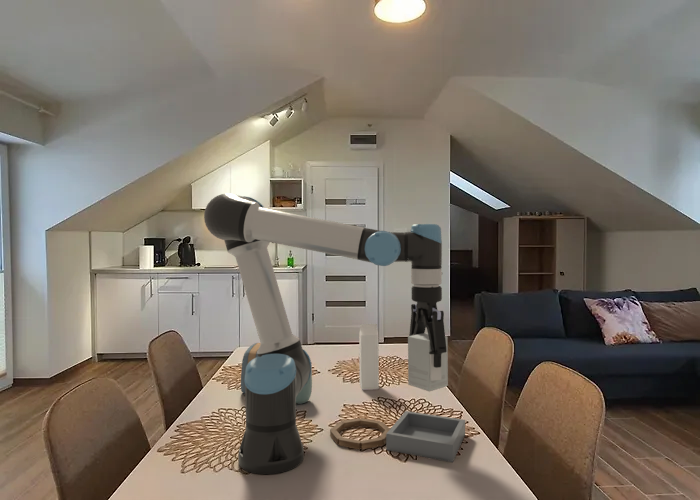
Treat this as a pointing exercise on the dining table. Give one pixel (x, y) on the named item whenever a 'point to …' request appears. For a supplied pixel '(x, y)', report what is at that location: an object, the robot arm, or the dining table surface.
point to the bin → (426, 436)
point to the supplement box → (424, 363)
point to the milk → (369, 356)
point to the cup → (305, 392)
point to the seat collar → (356, 443)
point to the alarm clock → (247, 357)
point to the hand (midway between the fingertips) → (426, 374)
